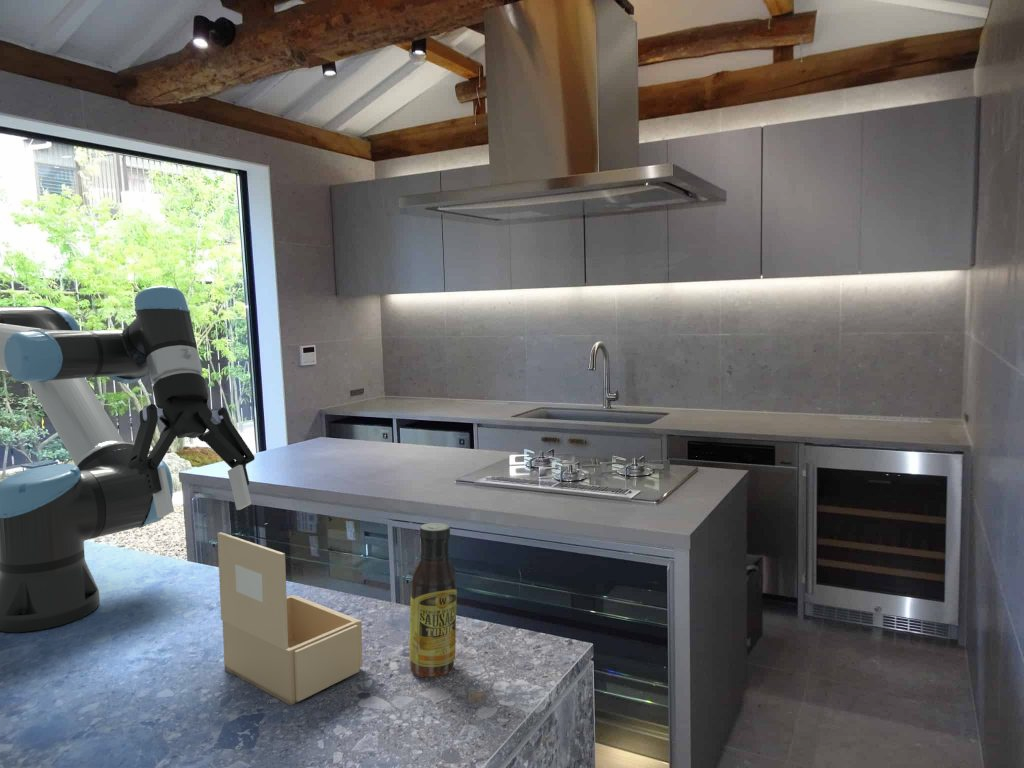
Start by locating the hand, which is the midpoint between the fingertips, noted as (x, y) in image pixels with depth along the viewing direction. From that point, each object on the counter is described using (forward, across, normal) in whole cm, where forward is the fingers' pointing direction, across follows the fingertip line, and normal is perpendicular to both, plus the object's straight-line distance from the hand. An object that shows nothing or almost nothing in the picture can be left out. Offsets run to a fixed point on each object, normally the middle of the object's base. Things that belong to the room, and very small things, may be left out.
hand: (207, 510), depth 107 cm
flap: (+20, -6, -10) cm, 23 cm away
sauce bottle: (+32, +10, -24) cm, 41 cm away
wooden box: (+26, +1, -8) cm, 27 cm away
